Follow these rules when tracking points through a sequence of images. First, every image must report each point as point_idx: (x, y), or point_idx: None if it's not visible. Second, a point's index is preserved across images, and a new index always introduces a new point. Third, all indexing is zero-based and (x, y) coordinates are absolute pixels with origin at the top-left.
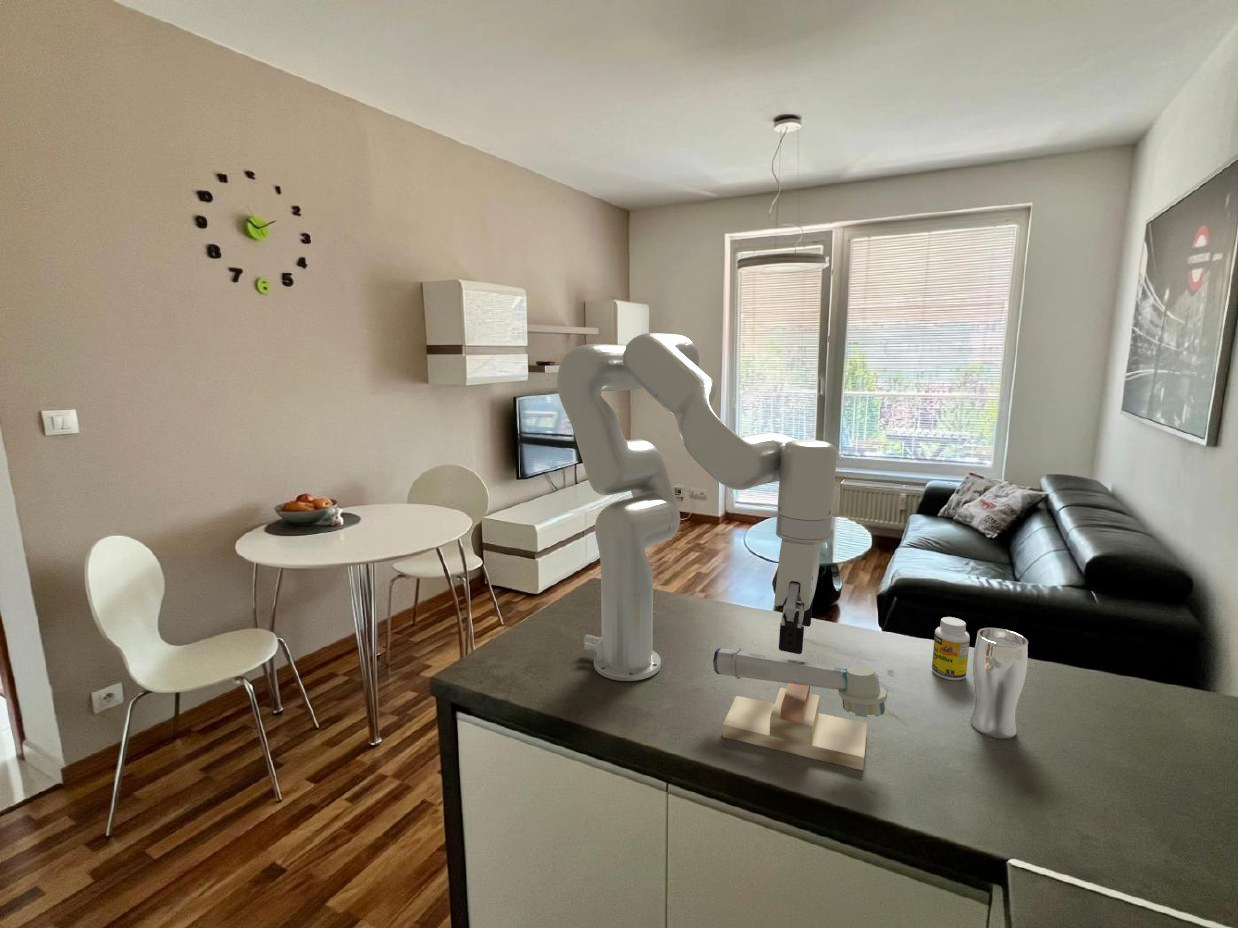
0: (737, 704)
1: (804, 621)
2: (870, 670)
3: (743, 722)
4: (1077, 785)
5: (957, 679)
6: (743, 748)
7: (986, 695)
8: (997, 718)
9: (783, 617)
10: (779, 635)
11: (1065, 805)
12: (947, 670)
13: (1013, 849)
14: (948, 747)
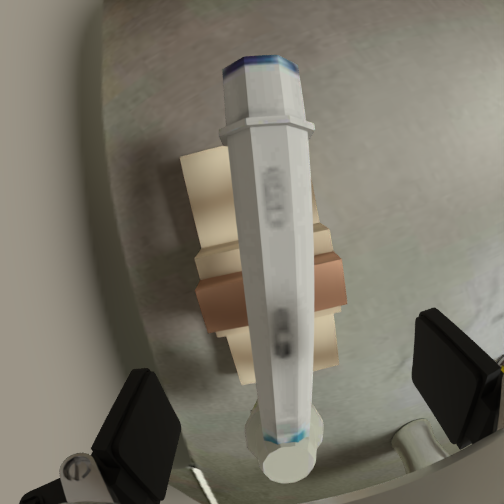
0: None
1: (420, 375)
2: (296, 476)
3: (211, 187)
4: (336, 485)
5: None
6: (177, 206)
7: (411, 465)
8: (400, 455)
9: (26, 496)
10: (112, 406)
11: (301, 485)
12: None
13: (211, 470)
14: (353, 423)
